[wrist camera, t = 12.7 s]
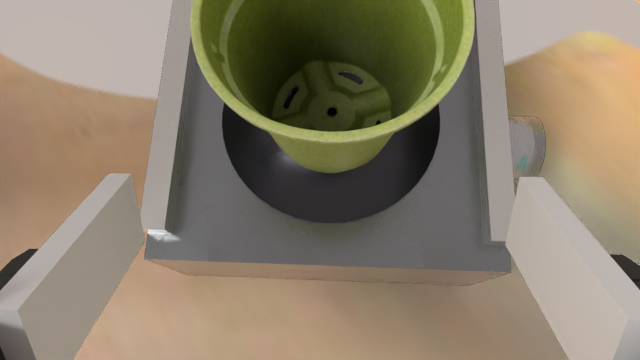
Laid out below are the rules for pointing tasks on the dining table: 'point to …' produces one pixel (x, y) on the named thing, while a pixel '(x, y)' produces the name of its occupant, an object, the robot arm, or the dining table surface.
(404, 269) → the gray open-top box
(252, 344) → the dining table surface
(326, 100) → the plant pot
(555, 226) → the robot arm
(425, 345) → the dining table surface
